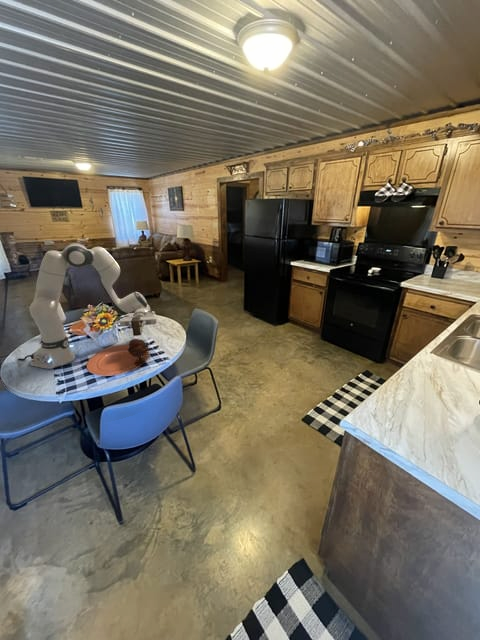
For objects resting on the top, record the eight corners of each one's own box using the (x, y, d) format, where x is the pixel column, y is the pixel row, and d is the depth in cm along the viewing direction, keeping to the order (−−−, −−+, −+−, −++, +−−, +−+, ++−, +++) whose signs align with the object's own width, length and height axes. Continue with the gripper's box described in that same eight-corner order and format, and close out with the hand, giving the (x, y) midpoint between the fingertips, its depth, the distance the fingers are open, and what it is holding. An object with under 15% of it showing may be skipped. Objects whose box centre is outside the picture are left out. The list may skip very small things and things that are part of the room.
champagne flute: (57, 337, 181) (47, 304, 171) (67, 333, 186) (58, 301, 177) (62, 339, 178) (52, 305, 168) (72, 335, 183) (63, 302, 174)
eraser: (133, 336, 147) (130, 321, 143) (135, 331, 152) (132, 317, 148) (140, 335, 147) (138, 320, 144) (142, 331, 152) (140, 317, 149)
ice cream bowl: (144, 368, 145) (140, 344, 139) (126, 365, 147) (121, 342, 141) (154, 358, 155) (150, 335, 149) (136, 356, 157) (132, 333, 151)
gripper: (121, 313, 156) (115, 322, 144) (157, 311, 160) (154, 319, 147) (123, 323, 159) (117, 332, 146) (158, 320, 162) (155, 329, 149)
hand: (136, 326), depth 147 cm, fingers closed on eraser, 4 cm apart
